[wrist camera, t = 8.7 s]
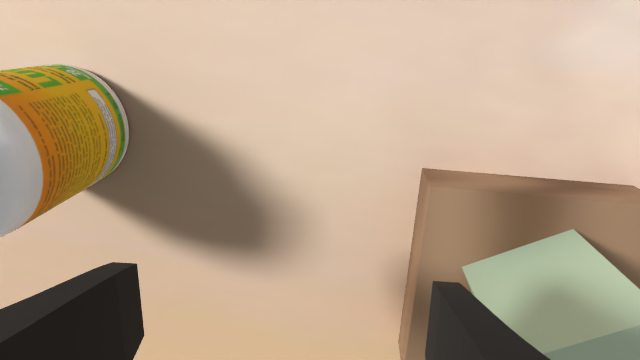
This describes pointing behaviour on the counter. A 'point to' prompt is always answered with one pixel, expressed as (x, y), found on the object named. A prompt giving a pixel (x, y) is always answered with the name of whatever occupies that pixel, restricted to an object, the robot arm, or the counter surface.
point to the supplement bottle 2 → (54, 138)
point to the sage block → (561, 299)
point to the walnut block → (506, 230)
